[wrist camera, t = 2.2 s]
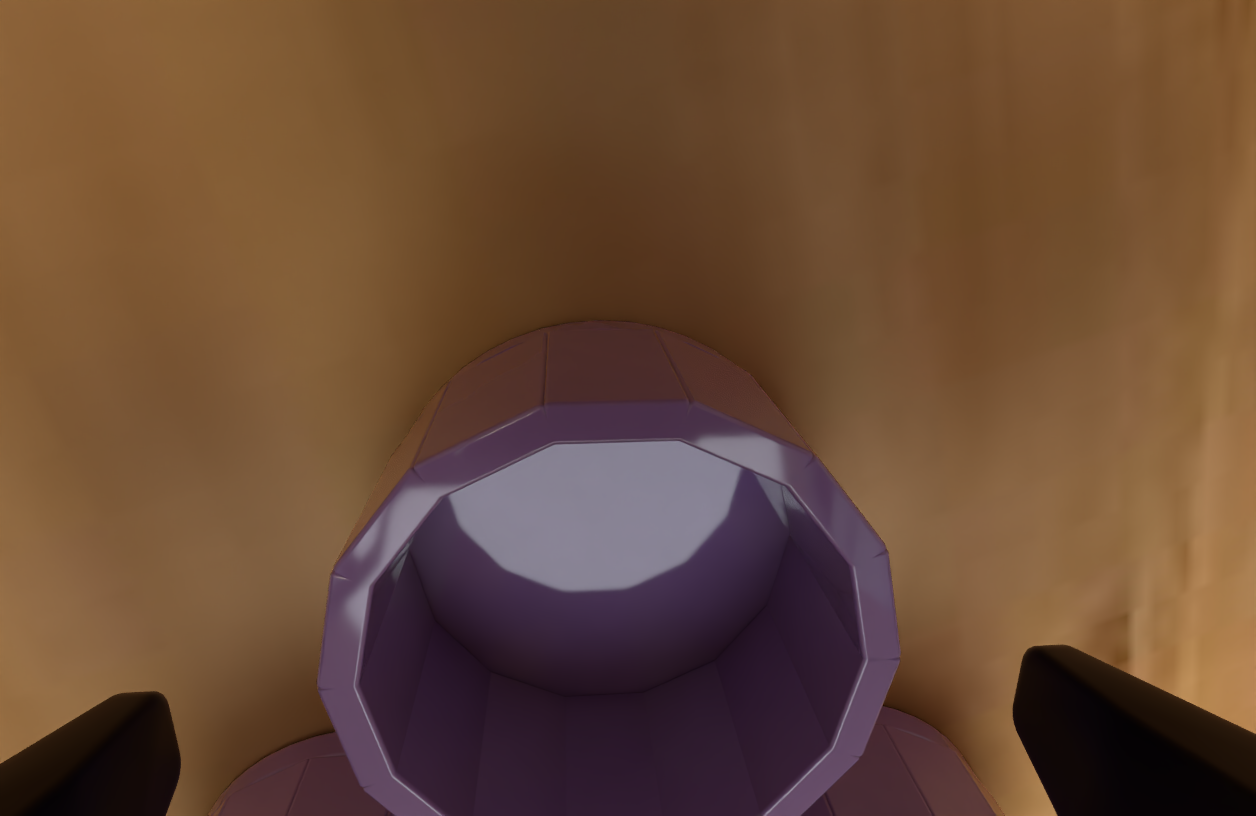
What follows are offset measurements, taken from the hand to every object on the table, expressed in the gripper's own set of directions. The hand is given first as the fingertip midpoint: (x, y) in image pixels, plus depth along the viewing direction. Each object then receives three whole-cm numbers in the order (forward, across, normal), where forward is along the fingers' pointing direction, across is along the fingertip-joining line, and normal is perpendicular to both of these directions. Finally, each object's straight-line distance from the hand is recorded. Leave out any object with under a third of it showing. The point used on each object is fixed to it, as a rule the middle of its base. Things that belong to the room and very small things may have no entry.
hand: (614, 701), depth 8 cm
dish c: (+4, 0, 0) cm, 4 cm away
